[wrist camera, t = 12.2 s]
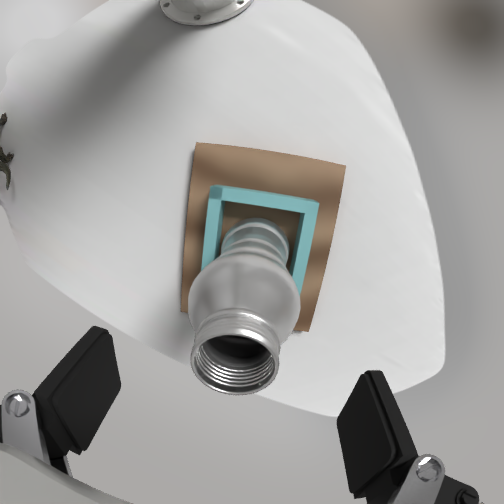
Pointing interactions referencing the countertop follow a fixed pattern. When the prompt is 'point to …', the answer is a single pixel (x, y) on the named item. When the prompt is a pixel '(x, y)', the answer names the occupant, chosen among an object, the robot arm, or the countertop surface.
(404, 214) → the countertop surface
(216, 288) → the silver aluminum bottle
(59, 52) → the countertop surface
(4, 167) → the dinosaur figurine
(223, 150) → the walnut jig board
